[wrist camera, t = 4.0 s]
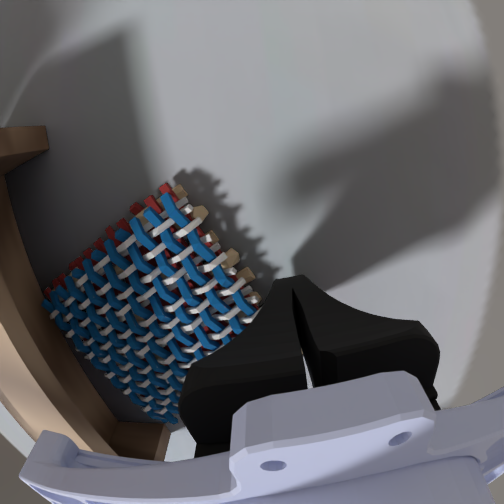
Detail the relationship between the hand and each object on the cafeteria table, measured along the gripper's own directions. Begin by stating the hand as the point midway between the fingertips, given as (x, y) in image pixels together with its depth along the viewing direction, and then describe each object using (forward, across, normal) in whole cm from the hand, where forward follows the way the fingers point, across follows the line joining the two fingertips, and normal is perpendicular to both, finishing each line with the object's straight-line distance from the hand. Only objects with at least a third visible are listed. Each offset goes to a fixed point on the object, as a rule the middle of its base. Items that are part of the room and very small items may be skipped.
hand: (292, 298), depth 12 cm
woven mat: (+2, +6, +1) cm, 6 cm away
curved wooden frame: (+1, +12, 0) cm, 12 cm away
